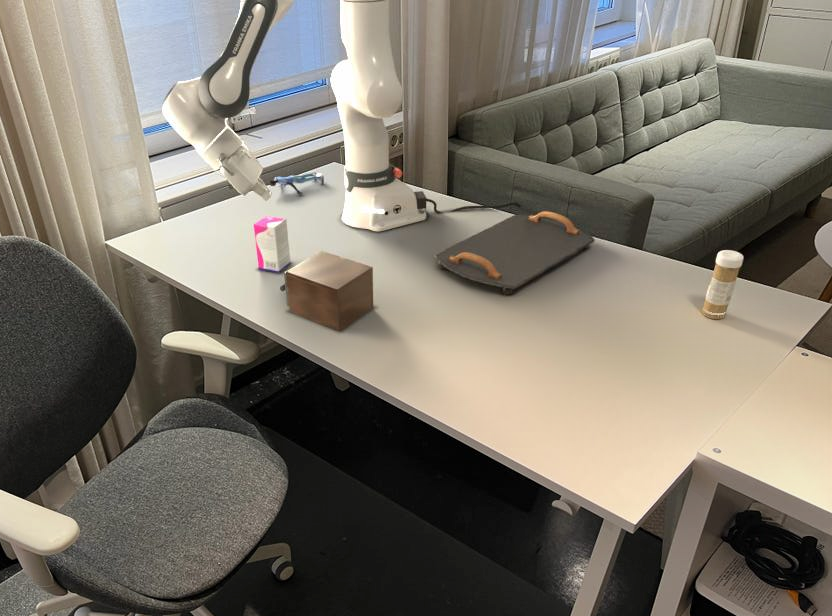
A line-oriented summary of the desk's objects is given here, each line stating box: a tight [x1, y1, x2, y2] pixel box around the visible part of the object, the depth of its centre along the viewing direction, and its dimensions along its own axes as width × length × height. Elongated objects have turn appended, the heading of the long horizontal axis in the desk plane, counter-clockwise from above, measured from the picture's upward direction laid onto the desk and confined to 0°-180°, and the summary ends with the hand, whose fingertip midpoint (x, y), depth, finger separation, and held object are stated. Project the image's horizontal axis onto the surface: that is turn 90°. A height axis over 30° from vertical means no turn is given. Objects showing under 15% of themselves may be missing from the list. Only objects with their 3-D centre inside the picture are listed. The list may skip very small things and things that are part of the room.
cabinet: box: [285, 250, 374, 332], centre depth 147 cm, size 14×12×10 cm
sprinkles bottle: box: [701, 249, 745, 320], centre depth 140 cm, size 5×5×13 cm
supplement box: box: [253, 215, 292, 274], centre depth 165 cm, size 6×6×12 cm
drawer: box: [279, 271, 289, 307], centre depth 149 cm, size 16×10×8 cm, turn 52°
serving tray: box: [434, 210, 596, 296], centre depth 165 cm, size 39×23×6 cm, turn 134°
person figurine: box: [268, 172, 325, 196], centre depth 207 cm, size 11×4×18 cm
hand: (269, 197), depth 159 cm, fingers closed
